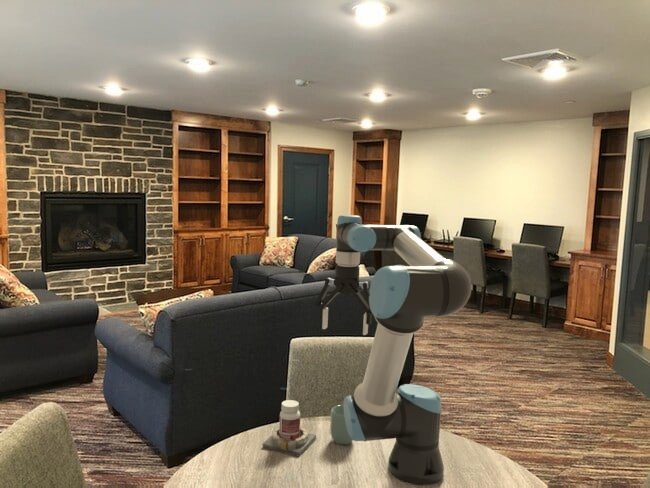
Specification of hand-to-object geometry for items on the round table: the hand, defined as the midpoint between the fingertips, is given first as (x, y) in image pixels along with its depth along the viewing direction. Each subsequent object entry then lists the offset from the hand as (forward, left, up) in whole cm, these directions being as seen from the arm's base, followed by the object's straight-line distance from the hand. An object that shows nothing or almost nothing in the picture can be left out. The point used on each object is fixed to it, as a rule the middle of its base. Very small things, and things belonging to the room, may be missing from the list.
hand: (344, 331), depth 171 cm
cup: (-4, +9, -32) cm, 33 cm away
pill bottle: (+10, +17, -31) cm, 37 cm away
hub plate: (+10, +17, -32) cm, 37 cm away
